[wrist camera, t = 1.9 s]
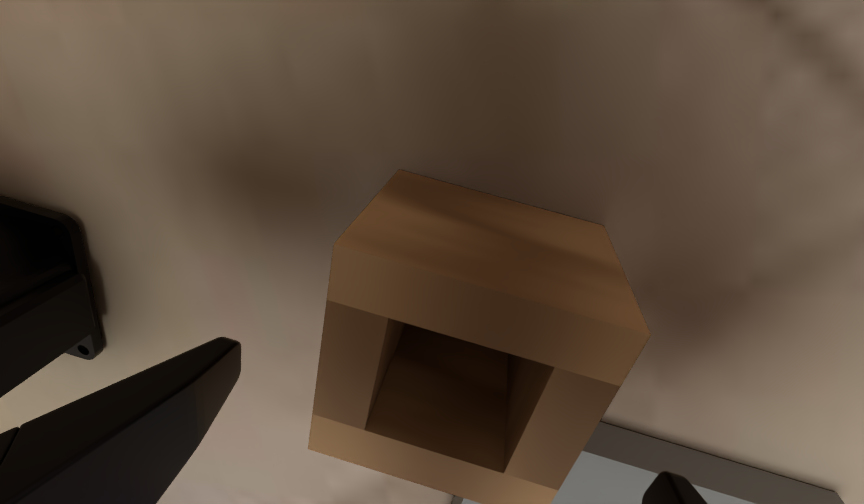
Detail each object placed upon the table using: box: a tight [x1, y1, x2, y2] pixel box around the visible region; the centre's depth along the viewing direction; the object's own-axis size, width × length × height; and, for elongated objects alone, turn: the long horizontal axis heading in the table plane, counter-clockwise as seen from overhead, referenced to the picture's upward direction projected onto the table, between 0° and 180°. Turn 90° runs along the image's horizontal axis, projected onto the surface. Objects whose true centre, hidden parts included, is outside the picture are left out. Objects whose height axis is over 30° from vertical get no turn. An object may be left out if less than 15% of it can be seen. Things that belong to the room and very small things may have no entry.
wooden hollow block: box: [308, 170, 651, 504], centre depth 12 cm, size 6×6×5 cm
